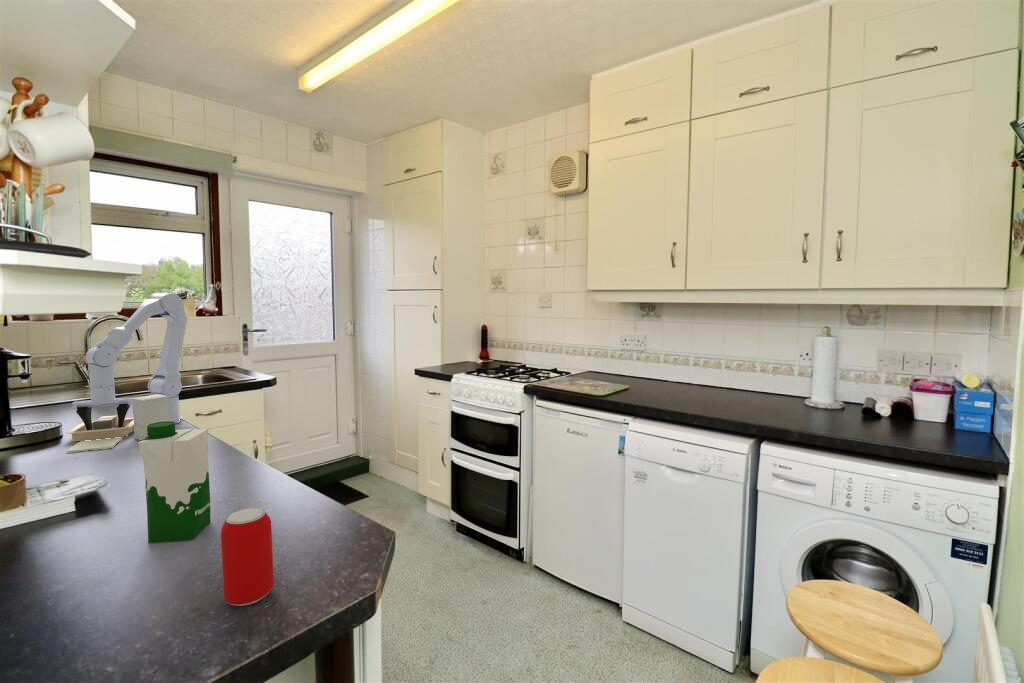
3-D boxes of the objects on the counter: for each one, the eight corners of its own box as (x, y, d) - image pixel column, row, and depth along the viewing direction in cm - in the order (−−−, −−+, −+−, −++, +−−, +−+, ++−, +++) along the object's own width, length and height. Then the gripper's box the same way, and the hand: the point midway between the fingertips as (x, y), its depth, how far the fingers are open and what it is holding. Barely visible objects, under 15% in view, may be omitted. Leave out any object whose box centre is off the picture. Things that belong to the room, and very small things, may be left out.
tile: (79, 443, 142) (79, 441, 142) (122, 439, 146) (122, 437, 146) (66, 453, 133) (66, 451, 133) (112, 448, 137) (112, 446, 137)
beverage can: (214, 603, 67) (209, 519, 66) (254, 580, 73) (250, 502, 72) (245, 615, 65) (240, 528, 64) (283, 589, 70) (280, 509, 69)
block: (102, 432, 154) (101, 416, 154) (118, 430, 156) (117, 415, 156) (94, 438, 147) (92, 422, 147) (110, 436, 149) (109, 420, 148)
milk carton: (166, 523, 91) (160, 418, 89) (218, 519, 93) (213, 416, 91) (138, 546, 83) (131, 431, 81) (197, 542, 84) (190, 428, 82)
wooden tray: (83, 431, 155) (83, 422, 155) (142, 425, 162) (141, 417, 161) (65, 443, 141) (64, 433, 141) (130, 437, 148) (129, 427, 148)
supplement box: (173, 436, 149) (170, 395, 148) (144, 442, 143) (142, 400, 142) (161, 433, 153) (159, 393, 152) (133, 438, 147) (131, 397, 146)
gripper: (67, 390, 143) (70, 435, 144) (128, 386, 149) (131, 429, 150) (75, 386, 149) (78, 429, 150) (134, 382, 156) (136, 424, 157)
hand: (105, 429), depth 151 cm, fingers open, 7 cm apart
